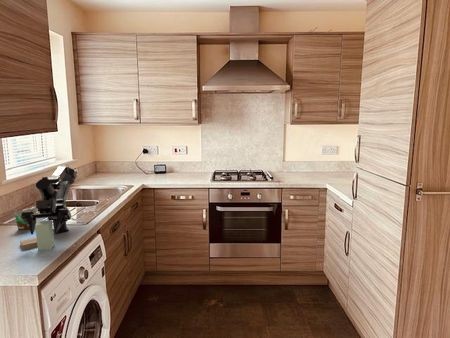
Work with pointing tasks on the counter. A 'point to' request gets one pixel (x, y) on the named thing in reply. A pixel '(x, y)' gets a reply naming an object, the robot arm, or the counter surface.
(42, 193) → the robot arm
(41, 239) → the sage block
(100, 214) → the counter surface
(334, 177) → the counter surface
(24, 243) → the tan slab
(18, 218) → the food container
